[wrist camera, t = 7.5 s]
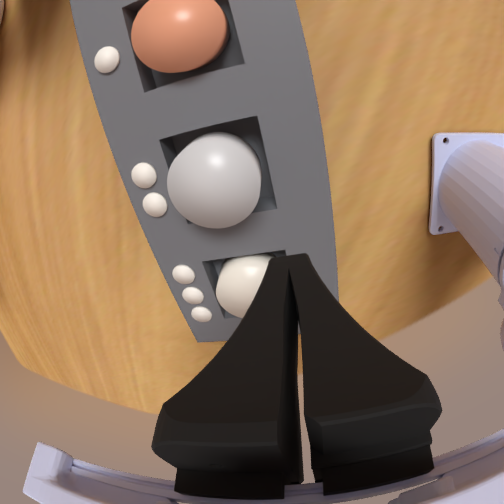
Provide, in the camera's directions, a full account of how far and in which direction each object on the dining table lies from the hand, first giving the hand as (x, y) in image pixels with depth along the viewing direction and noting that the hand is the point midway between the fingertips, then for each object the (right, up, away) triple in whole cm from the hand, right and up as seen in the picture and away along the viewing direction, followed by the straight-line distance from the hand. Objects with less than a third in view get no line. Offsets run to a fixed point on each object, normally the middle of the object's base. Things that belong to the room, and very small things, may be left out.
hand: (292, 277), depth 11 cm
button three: (-1, -1, +11) cm, 12 cm away
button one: (-5, +13, +2) cm, 14 cm away
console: (-3, +7, +8) cm, 11 cm away
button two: (-3, +5, +6) cm, 9 cm away
